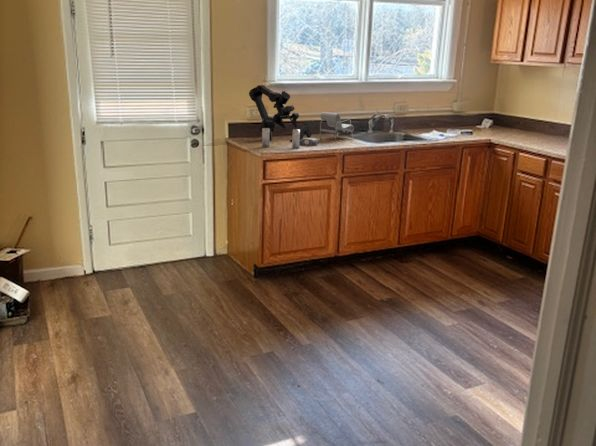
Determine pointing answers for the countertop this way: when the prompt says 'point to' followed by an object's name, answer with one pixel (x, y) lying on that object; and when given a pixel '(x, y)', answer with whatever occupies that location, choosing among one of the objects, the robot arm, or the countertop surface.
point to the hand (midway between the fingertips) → (290, 127)
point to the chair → (335, 123)
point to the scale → (309, 141)
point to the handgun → (305, 131)
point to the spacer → (265, 137)
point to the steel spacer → (296, 138)
